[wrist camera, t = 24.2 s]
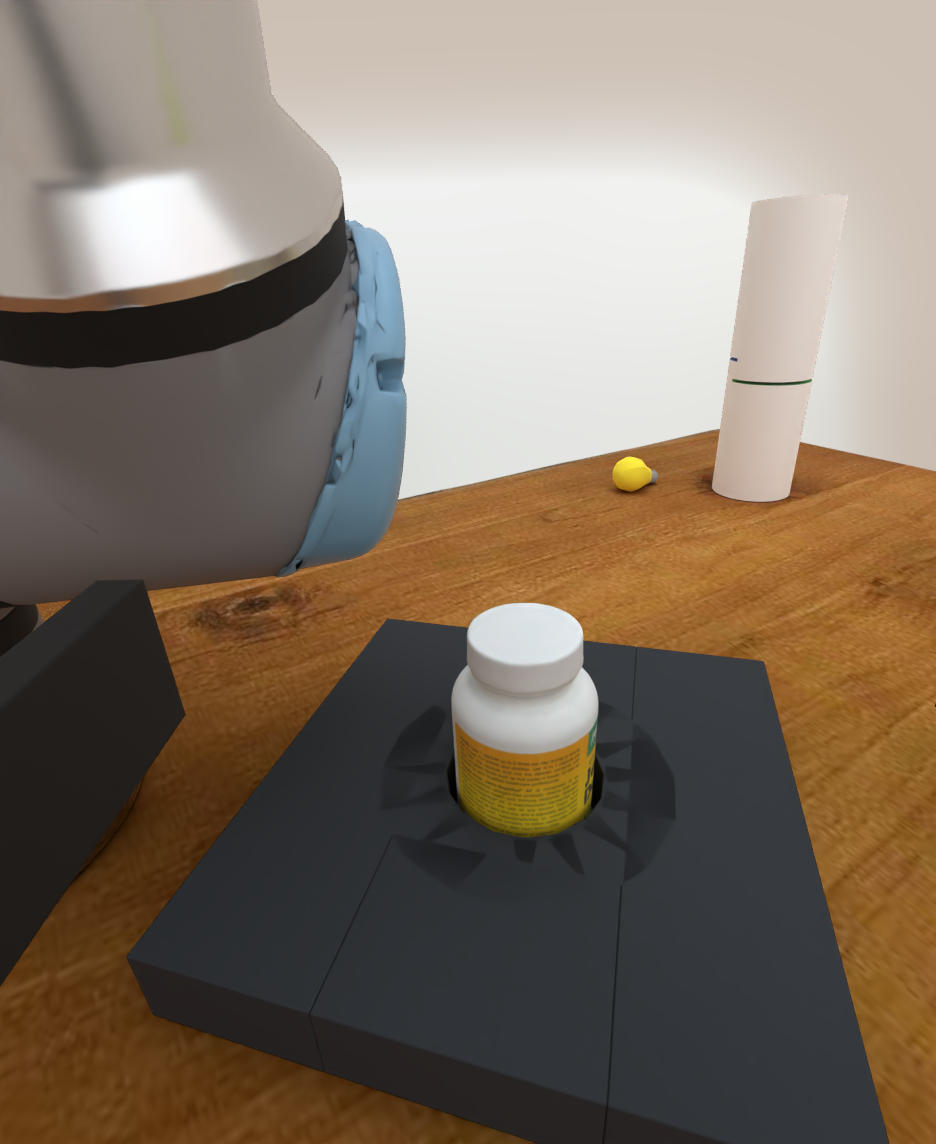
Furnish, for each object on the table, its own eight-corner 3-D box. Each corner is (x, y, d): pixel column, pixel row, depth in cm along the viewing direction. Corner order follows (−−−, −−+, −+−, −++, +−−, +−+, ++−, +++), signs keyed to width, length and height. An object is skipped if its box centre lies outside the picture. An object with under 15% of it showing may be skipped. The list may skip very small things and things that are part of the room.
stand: (152, 1015, 19) (124, 956, 18) (392, 661, 36) (387, 618, 35) (868, 1255, 14) (904, 1198, 13) (753, 709, 31) (764, 660, 30)
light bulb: (605, 492, 62) (605, 457, 62) (641, 495, 66) (641, 462, 66) (633, 489, 59) (633, 452, 59) (668, 492, 63) (668, 458, 63)
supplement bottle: (452, 786, 27) (439, 599, 23) (568, 771, 28) (576, 585, 24) (468, 895, 22) (455, 684, 18) (608, 874, 23) (627, 664, 19)
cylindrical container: (771, 477, 64) (821, 201, 53) (802, 500, 58) (868, 192, 47) (702, 480, 64) (738, 206, 53) (726, 503, 58) (773, 196, 47)
